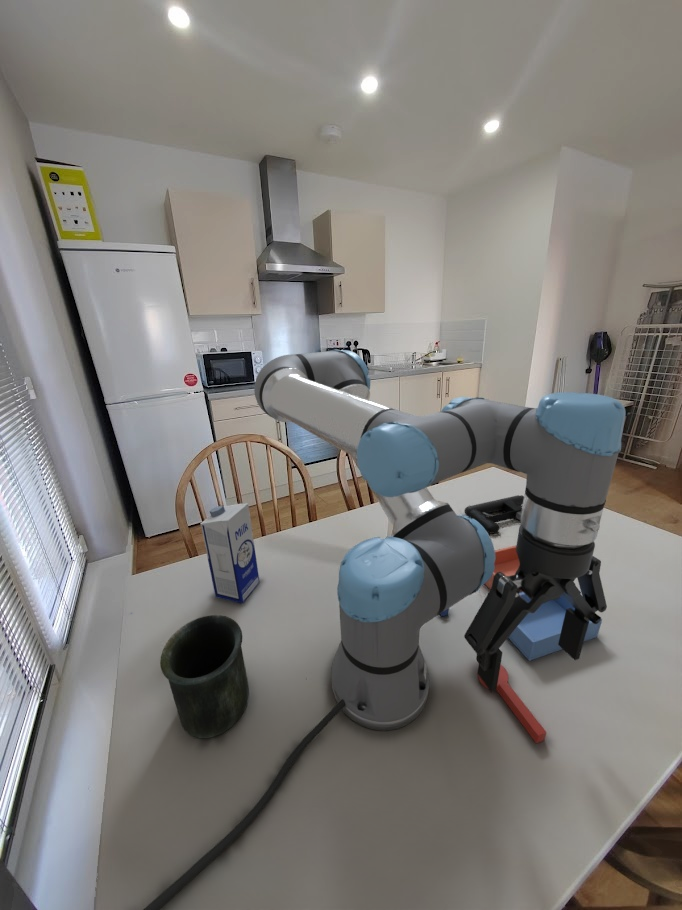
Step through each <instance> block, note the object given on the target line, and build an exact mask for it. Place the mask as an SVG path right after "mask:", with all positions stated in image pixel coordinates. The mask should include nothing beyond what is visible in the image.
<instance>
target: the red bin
mask: <svg viewBox="0 0 682 910" xmlns="http://www.w3.org/2000/svg"><path fill="white" fill-rule="evenodd" d="M494 550H495V557H496V559H495V563H494V565H495V569H494V572H493V574H492V576H491V578H490V579H489V580H488V581H487V582H486V583H485V584H484V585H485V586H486V587H487V588H488V589H489V591H490V590H491V587H492V583H493V579H494V576H495V574H496V573H497V572H502V573H503V574H504V575H505V576H511V575H515V573H516V571H517V569H518V568H519V565H520V562H519V558H518V555H517V552H516V545H512V546H508V547H504V548H499V549H494ZM521 592H523V591H522V590H520V592H519V593H521Z"/></svg>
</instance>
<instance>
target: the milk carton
mask: <svg viewBox="0 0 682 910" xmlns="http://www.w3.org/2000/svg"><path fill="white" fill-rule="evenodd" d="M209 514H210V515H209V517H207V518H206V519H204V520H203V521H202V522H200V528H201V531H202V538H203V543H204V547H205V551H206V557H207V561H208V567H209V572H210V576H211V581H212V586H213V591H214V595H215V596H214V597H215V598H219V599H221V600H226V601H231V602H235V603H239V604H244V602H245V601H246V600H247V599H248V597H249V596H250V595H251V594H252V593H253V591H254V590H255V589H256V587H258V585H259V584H260V581H261V580H260V575H259V568H258V561H257V555H256V548H255V547H256V546H255V541H254V533H253V528H252V527H253V525H252V519H251V513H250V506H249V503H235V504H230V505H222V504H221V505H218V506H216V507H213V508H211V509H210V510H209Z"/></svg>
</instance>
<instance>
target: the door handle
mask: <svg viewBox="0 0 682 910" xmlns="http://www.w3.org/2000/svg"><path fill="white" fill-rule="evenodd" d="M523 500H524V495H519V494H518V495H512V496H510V497H504V498H500V499H496V500H492V501H491V500H490V501H487V502H486V501H485V502H482V503H476V504H472V505H470V504H469V505H468V506H466V507H465V508H464V515H465V516H468V517H470V519H475V520H476V521H478V522H479V523H480V524H481V525H482V526H483V527H484V529H485V530H486V531H487V533H488V534H496V533H497V532H499V531H500V526H499V525H498V523H499V522H503V521H508V520H510V519H513V520H516V519H517V520H519V521H520V520H521V512H522V506H523ZM497 511H502V513H498V514H494V515H493V514H490V513H494V512H497Z"/></svg>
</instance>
